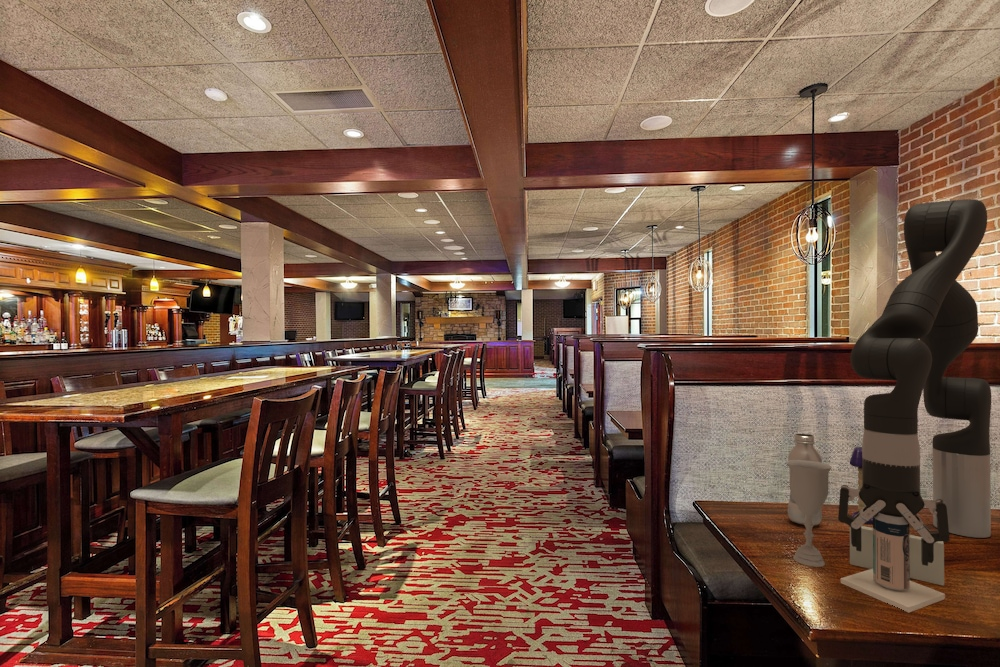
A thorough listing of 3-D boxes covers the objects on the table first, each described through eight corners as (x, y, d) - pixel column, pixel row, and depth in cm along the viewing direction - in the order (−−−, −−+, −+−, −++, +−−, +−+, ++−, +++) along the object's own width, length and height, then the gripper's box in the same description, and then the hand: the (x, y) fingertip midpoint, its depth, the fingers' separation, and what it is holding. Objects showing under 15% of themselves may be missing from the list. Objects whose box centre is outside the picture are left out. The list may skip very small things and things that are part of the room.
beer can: (916, 594, 79) (916, 519, 79) (882, 591, 80) (882, 517, 80) (899, 580, 84) (898, 508, 84) (867, 577, 85) (866, 506, 85)
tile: (876, 572, 88) (876, 567, 88) (945, 599, 79) (945, 593, 79) (840, 582, 84) (840, 578, 84) (908, 612, 75) (908, 607, 75)
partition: (849, 564, 91) (849, 526, 91) (850, 561, 93) (850, 523, 93) (944, 585, 83) (943, 544, 83) (943, 582, 85) (943, 541, 85)
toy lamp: (879, 525, 110) (879, 450, 111) (856, 524, 111) (856, 449, 111) (867, 517, 115) (867, 446, 115) (845, 516, 116) (845, 445, 116)
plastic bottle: (782, 518, 115) (782, 431, 115) (813, 519, 114) (813, 432, 114) (794, 528, 108) (794, 437, 109) (828, 530, 108) (827, 438, 108)
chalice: (790, 565, 91) (790, 466, 91) (783, 550, 97) (782, 458, 97) (837, 571, 88) (836, 470, 89) (826, 556, 95) (826, 461, 95)
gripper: (836, 456, 83) (837, 553, 83) (950, 470, 75) (951, 578, 74) (839, 448, 89) (840, 538, 89) (945, 460, 81) (946, 560, 80)
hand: (890, 556), depth 82 cm, fingers open, 8 cm apart
